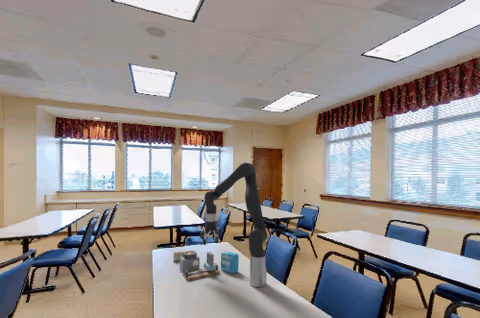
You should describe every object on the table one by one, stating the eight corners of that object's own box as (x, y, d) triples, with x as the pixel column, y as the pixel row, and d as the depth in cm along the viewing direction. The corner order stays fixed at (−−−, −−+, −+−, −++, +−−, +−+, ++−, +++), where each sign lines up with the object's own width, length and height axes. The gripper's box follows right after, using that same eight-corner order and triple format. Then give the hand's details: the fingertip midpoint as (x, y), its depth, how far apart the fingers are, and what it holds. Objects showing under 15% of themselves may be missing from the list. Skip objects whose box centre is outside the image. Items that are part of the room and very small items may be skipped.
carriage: (211, 265, 163) (212, 251, 163) (216, 269, 157) (216, 254, 157) (203, 267, 159) (204, 252, 160) (207, 271, 153) (208, 255, 154)
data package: (220, 270, 162) (220, 252, 163) (224, 267, 166) (224, 250, 167) (234, 274, 156) (235, 255, 157) (238, 271, 160) (238, 254, 160)
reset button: (191, 255, 166) (191, 251, 167) (193, 256, 163) (193, 253, 163) (186, 256, 165) (186, 252, 165) (188, 257, 161) (188, 254, 162)
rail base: (213, 268, 165) (213, 261, 165) (219, 273, 156) (219, 266, 156) (182, 275, 153) (183, 268, 154) (187, 281, 145) (187, 273, 145)
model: (188, 261, 179) (188, 251, 179) (173, 263, 174) (174, 252, 175) (187, 259, 182) (187, 249, 182) (173, 261, 177) (173, 251, 178)
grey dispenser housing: (195, 265, 170) (195, 249, 171) (199, 269, 163) (200, 253, 164) (179, 268, 164) (179, 252, 165) (182, 272, 157) (183, 256, 157)
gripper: (218, 218, 167) (217, 241, 166) (199, 219, 159) (198, 243, 159) (222, 220, 160) (222, 244, 159) (203, 221, 153) (202, 247, 152)
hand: (210, 243), depth 159 cm, fingers open, 8 cm apart
